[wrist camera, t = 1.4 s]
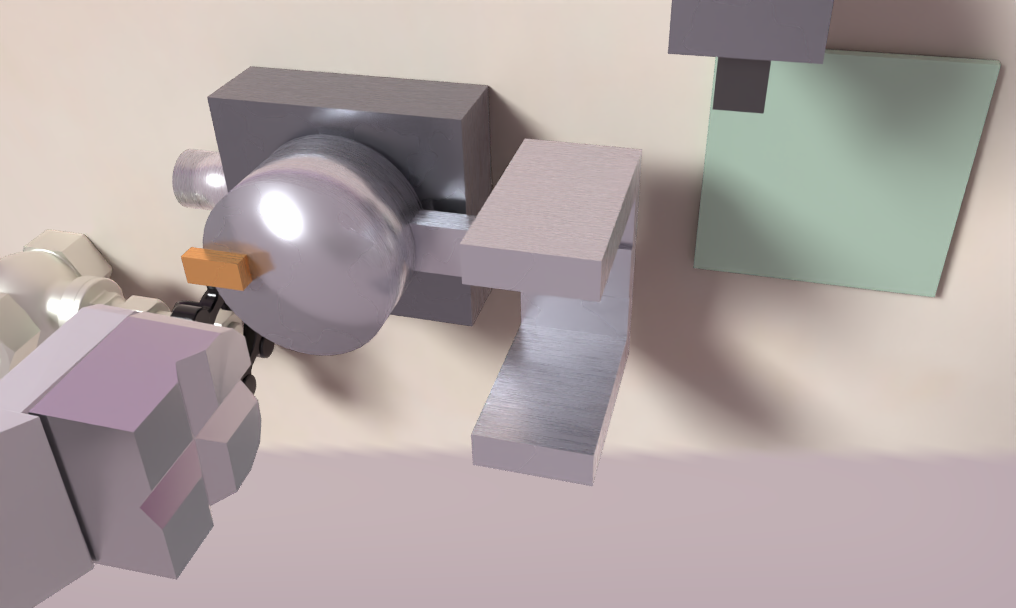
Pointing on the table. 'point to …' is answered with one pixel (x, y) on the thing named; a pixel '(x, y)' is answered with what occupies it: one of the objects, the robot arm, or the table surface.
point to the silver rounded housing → (449, 251)
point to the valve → (86, 298)
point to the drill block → (370, 121)
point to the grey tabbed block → (749, 42)
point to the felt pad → (845, 171)
